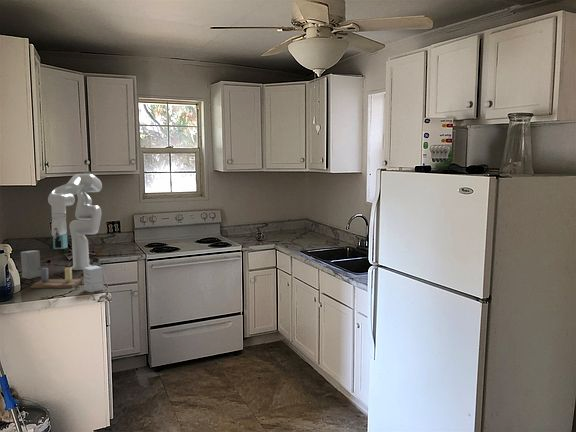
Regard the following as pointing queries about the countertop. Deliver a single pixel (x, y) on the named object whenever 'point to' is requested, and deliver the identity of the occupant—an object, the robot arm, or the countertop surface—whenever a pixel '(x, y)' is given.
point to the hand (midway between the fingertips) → (60, 246)
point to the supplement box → (93, 278)
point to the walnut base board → (56, 283)
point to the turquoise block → (62, 242)
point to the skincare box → (30, 264)
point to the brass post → (68, 275)
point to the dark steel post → (44, 275)
